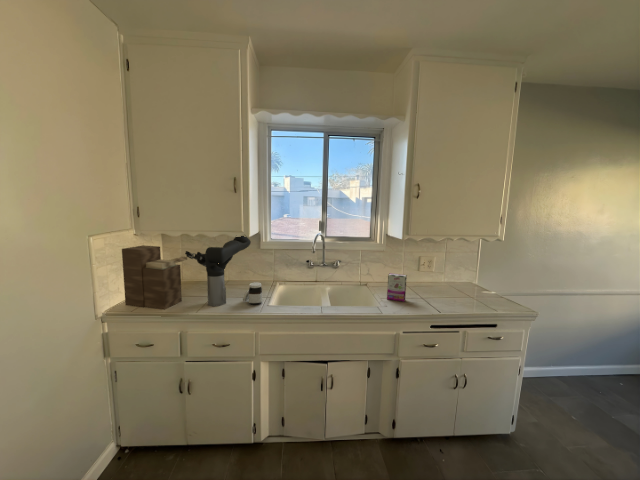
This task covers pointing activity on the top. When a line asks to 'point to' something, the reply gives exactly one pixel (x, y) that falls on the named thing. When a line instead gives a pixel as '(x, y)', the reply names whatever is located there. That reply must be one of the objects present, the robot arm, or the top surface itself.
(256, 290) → the spread jar
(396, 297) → the candy bar box
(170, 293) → the two-tone wooden block
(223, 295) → the robot arm
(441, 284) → the top surface
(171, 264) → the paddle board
